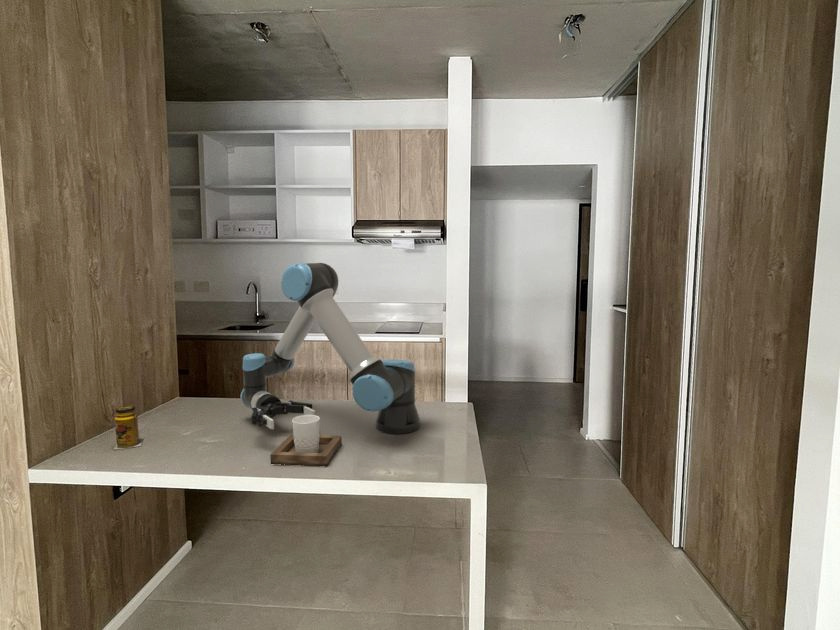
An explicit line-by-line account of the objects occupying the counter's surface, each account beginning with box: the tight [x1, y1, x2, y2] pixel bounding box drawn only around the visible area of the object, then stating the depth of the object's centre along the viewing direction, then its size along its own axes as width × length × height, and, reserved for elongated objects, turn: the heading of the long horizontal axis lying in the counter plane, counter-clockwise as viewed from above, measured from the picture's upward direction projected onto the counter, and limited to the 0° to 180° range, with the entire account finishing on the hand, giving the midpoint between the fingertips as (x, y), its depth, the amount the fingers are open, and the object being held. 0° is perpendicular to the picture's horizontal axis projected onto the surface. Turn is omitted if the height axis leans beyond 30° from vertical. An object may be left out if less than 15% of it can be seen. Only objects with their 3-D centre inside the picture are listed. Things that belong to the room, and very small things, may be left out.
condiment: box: [113, 405, 145, 450], centre depth 153 cm, size 7×8×12 cm
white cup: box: [291, 414, 321, 453], centre depth 143 cm, size 8×8×10 cm
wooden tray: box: [269, 433, 343, 468], centre depth 143 cm, size 16×16×3 cm
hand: (294, 419), depth 149 cm, fingers open, 13 cm apart
